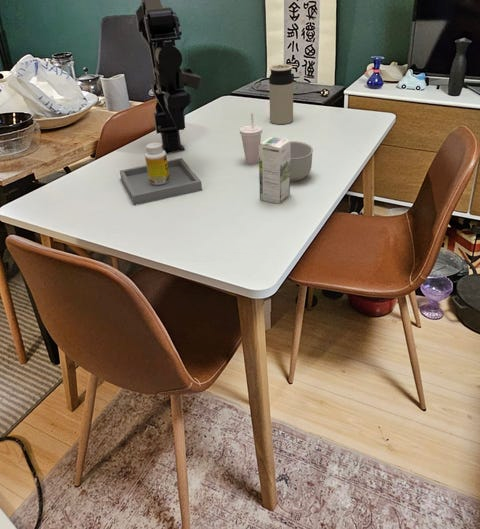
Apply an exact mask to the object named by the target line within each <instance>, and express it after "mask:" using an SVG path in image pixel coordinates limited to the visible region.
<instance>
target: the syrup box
mask: <svg viewBox="0 0 480 529" xmlns="http://www.w3.org/2000/svg"><path fill="white" fill-rule="evenodd" d="M291 141H292V140H290V139H287V138H283V137H275V136H270V137H268V138H266V139H265V140H264V141H263V142H260V145H259V162H258V171H259V173H258V174H259V176H258V178H259V200H260V201H264V202H270V203H274V204H279V205H280V204H281V203H282V202H283V201H284V200H285V199H286V198H288V197H289V195H291V181H290V152H291Z"/></svg>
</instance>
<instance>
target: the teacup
mask: <svg viewBox="0 0 480 529" xmlns="http://www.w3.org/2000/svg"><path fill="white" fill-rule="evenodd" d="M290 141H291V152H290V182H298V181H301V180H302V179H304V178H306V176H308V175H309V174H310V173H311V171H312V166H313V165H312V164H313V152H314V148H313V147H312V146H311V145H310V144H308V143H306V142H302V141H298V140H297V141H293V140H290Z"/></svg>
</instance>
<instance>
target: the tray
mask: <svg viewBox="0 0 480 529" xmlns="http://www.w3.org/2000/svg"><path fill="white" fill-rule="evenodd" d="M167 162H168V169H169V176H170V180H169V181H168V182H167V183H165V184H162V185H154V184H151V183H150V181H149V176H148V171H147V165H146V164H145V165H140V166H136V167H135V166H134V167H131V168H125V169H121V170H119V174H120V179H121V181H122V183H123V185H124V188H125V189H126V191H127V194H128V196H129V197H130V199H131V201H132V203H133V205H134V206H137V205H136V204H138V205H142V204H145V203H150V202H155V201H159V200H164V199H169V198H173V197H177V196H182V195H186V194H190V193H195V192H200V191H203V186H202V185H203V184H202V180H201V179H200V178H199V177H198V175H197V174H196V173H195V172H194V171H193V169H192V168H191V167H190V165H188V164H187V163H186V161H185V160H184V158H182V157H180V158H176V159H170V160H167ZM141 203H142V204H141Z"/></svg>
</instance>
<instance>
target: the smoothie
mask: <svg viewBox="0 0 480 529" xmlns="http://www.w3.org/2000/svg"><path fill="white" fill-rule="evenodd" d="M250 117H251V118H250V119H251V125H246V126H242V127H241V128H239V134H240V136H241V141H242V147H243V151H244V152H243V153H244V158H245V159H244V160H245V163H246V164H248V165H256V164H259V145H260V144H261V140H262V133H263V128H262V126H260V125H254V113H253V112H251V113H250Z"/></svg>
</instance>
